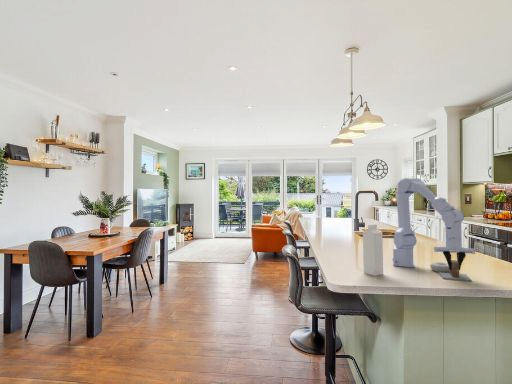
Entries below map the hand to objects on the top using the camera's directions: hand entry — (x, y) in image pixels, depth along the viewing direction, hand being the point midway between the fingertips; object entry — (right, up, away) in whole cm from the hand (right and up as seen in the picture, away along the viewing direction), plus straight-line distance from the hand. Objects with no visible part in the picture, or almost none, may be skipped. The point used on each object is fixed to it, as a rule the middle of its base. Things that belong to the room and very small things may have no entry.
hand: (454, 269), depth 125 cm
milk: (-32, -4, +7) cm, 33 cm away
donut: (+7, -2, +12) cm, 14 cm away
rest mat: (0, -3, 0) cm, 3 cm away
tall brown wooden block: (0, -3, 0) cm, 3 cm away
